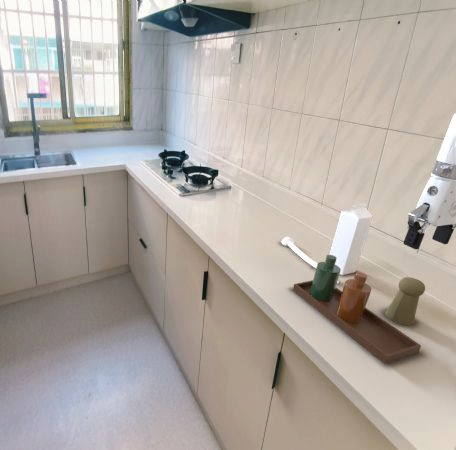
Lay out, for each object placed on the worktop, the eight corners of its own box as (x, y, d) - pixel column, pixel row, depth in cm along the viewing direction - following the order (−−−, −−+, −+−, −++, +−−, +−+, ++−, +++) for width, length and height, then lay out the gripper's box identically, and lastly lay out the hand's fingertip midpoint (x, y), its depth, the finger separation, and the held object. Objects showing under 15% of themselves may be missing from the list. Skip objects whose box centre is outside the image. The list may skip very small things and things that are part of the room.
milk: (355, 272, 106) (377, 206, 97) (341, 275, 103) (362, 208, 94) (338, 262, 111) (358, 199, 102) (325, 266, 108) (344, 201, 99)
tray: (320, 284, 98) (322, 278, 98) (418, 353, 74) (421, 345, 73) (292, 290, 95) (294, 283, 94) (385, 364, 71) (388, 356, 70)
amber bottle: (347, 307, 88) (360, 267, 83) (366, 320, 83) (381, 279, 78) (330, 311, 86) (343, 270, 81) (349, 325, 81) (363, 283, 76)
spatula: (346, 283, 99) (349, 275, 98) (335, 285, 98) (337, 277, 97) (289, 242, 124) (290, 235, 123) (279, 242, 123) (280, 235, 122)
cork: (401, 309, 88) (416, 273, 84) (419, 325, 83) (436, 287, 79) (380, 309, 88) (393, 273, 84) (396, 325, 83) (411, 287, 78)
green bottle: (321, 288, 95) (331, 250, 91) (337, 299, 91) (348, 260, 86) (305, 291, 94) (315, 253, 89) (320, 303, 89) (331, 263, 84)
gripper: (446, 179, 65) (415, 256, 72) (501, 174, 71) (467, 247, 78) (408, 169, 71) (383, 241, 78) (461, 165, 77) (433, 233, 84)
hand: (425, 244), depth 78 cm, fingers open, 9 cm apart
